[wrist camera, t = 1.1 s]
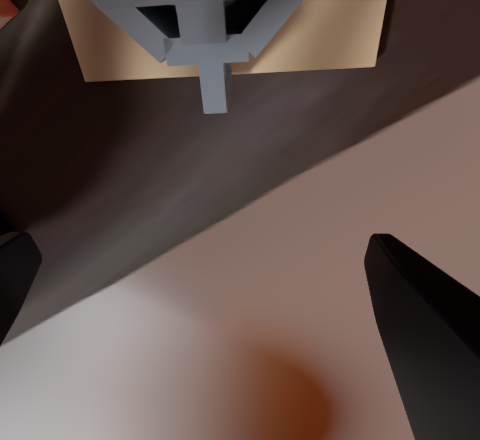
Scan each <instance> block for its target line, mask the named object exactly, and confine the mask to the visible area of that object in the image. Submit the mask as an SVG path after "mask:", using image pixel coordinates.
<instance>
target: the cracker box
mask: <svg viewBox="0 0 480 440" xmlns="http://www.w3.org/2000/svg"><path fill="white" fill-rule="evenodd" d="M18 13H19V10H18V8H17V7H16V6H15V5H14V4H13V3H12V2H11V0H0V30H1V29H2V28H3V27H4V26H5V25H6V24H7V23H8V22H9V21H10V20H11V19H12V18H13V17H15V16H16V15H17V14H18Z"/></svg>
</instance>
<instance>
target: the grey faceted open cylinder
mask: <svg viewBox="0 0 480 440" xmlns="http://www.w3.org/2000/svg"><path fill="white" fill-rule="evenodd" d="M90 1H91V2H92V3H93V4H94V5H95V6H96V7H97V8H99V9H100V10H101V11H102V12H103V13H104V14H105V15H106V16H108V17H109V18H110V19H111V20H112V21H113V22H114V23H115V24H117V25H118V26H119V27H120V28H121V29H122V30H123V31H124V32H126V33H127V34H128V35H129V36H130V37H131V38H132V39H133V40H135V41H136V42H137V43H138V44H139V45H140V46H141V47H142V48H144V49H145V50H146V51H147V52H148V53H149V54H150V55H152V56H153V57H154V58H155V59H156V60H157V61H158V62H159V63H162V62H164V61H165V60H167V66H180V65H198V68H199V76H200V84H201V92H202V100H203V108H204V114H211V113H227V111H228V108H229V104H230V101H231V97H232V94H233V80H232V65H231V63H234V62H249V57H250V53H251V54H252V55H253V56H254V57H255V58H256V57H257V56H258V54H259V53H260V52H261V51H262V49H263V48H264V47H265V46H266V45H267V43H268V42H269V41H270V40H271V39H272V37H273V36H274V35H275V34H276V33H277V31H278V30H279V29H280V28H281V27H282V25H283V24H284V23H285V22H286V20H287V19H288V18H289V17H290V16H291V14H292V13H293V12H294V11H295V10H296V8H297V7H298V6H299V5H300V4H301V2H302V1H303V0H236V1H235V2H234V3H232V4H230V5H228V6H226V7H225V4H224V1H228V0H90ZM172 4H175V5H176V7H175V6H173V5H172Z"/></svg>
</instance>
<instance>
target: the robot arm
mask: <svg viewBox="0 0 480 440" xmlns="http://www.w3.org/2000/svg"><path fill="white" fill-rule="evenodd" d="M41 263H42V254H41V252H40V251H39V249H38V247H37V245H36V244H35V242H34V240H33V238H32V236H31V235H30V234H29V233H27V232H12V231H11V230H10V228H9V226H8V225H7V223H6V222H5V220H4V219H3V217H2V215H1V214H0V346H1V344H2V342H3V341H4V339H5V337H6V335H7V333H8V332H9V330H10V328H11V326H12V325H13V323H14V321H15V319H16V317H17V316H18V314H19V312H20V310H21V308H22V305H23V303H24V301H25V299H26V297H27V294H28V292H29V290H30V288H31V285H32V283H33V281H34V279H35V276H36V274H37V272H38V270H39V267H40V265H41ZM364 266H365V271H366V276H367V281H368V286H369V291H370V296H371V301H372V306H373V311H374V315H375V319H376V323H377V326H378V329H379V333H380V336H381V339H382V342H383V345H384V348H385V351H386V353H387V357H388V360H389V363H390V366H391V369H392V372H393V375H394V378H395V381H396V384H397V387H398V390H399V393H400V396H401V399H402V402H403V405H404V408H405V411H406V414H407V417H408V420H409V423H410V426H411V429H412V431H413V435H414V438H415V440H480V296H478V295H477V294H475V293H474V292H472V291H471V290H470V289H468V288H467V287H465V286H464V285H462V284H461V283H460V282H458V281H457V280H455V279H454V278H452V277H451V276H449V275H448V274H447V273H445V272H444V271H442V270H441V269H439V268H438V267H437V266H435V265H434V264H432V263H431V262H430V261H428V260H427V259H425V258H424V257H422V256H421V255H419V254H418V253H417V252H415V251H414V250H412V249H411V248H409V247H408V246H407V245H405V244H404V243H402V242H401V241H400V240H398V239H397V238H395V237H394V236H392V235H391V234H373V235H372V236H371V237H370V240H369V244H368V248H367V251H366V255H365V259H364Z"/></svg>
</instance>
